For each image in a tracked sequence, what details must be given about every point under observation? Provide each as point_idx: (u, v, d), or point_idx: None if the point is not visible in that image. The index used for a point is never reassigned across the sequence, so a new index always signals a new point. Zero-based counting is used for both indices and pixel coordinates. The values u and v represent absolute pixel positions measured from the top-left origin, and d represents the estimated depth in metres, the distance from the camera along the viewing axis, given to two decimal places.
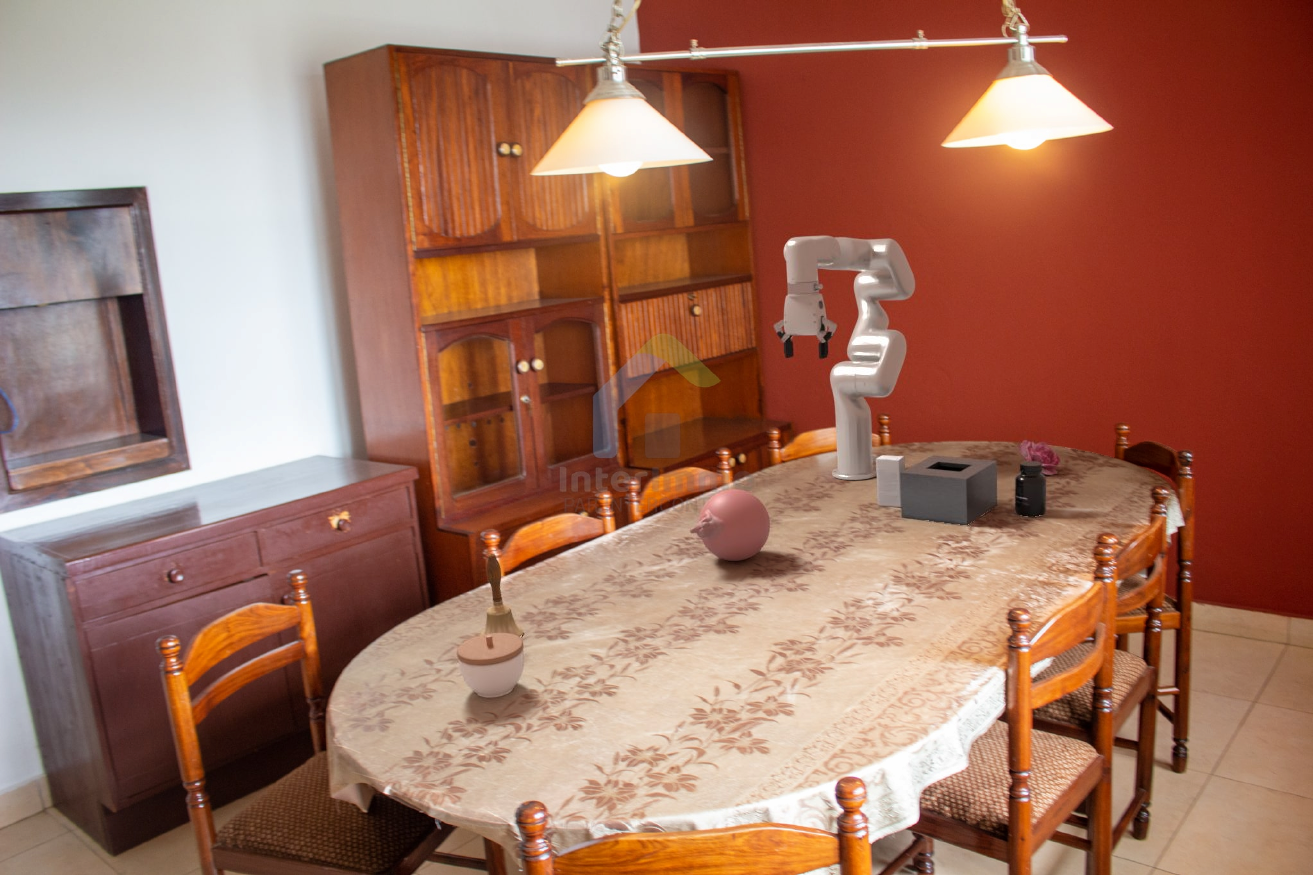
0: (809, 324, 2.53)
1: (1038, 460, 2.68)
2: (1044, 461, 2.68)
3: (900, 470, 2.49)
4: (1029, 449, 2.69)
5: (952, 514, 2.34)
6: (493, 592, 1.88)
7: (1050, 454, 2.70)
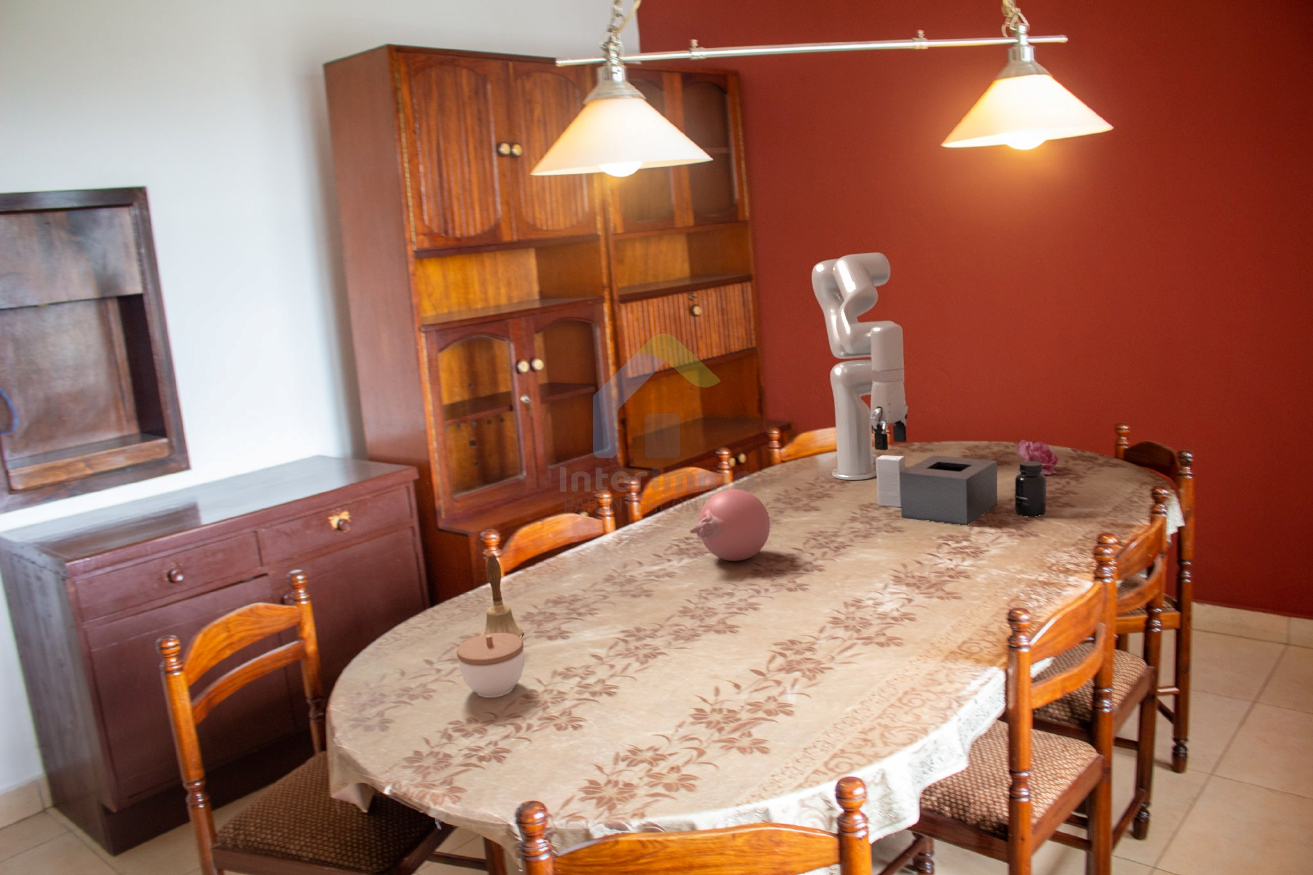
0: (902, 409, 2.49)
1: (1036, 460, 2.68)
2: (1042, 461, 2.68)
3: (900, 470, 2.49)
4: (1027, 449, 2.69)
5: (952, 514, 2.34)
6: (493, 592, 1.88)
7: (1048, 454, 2.71)
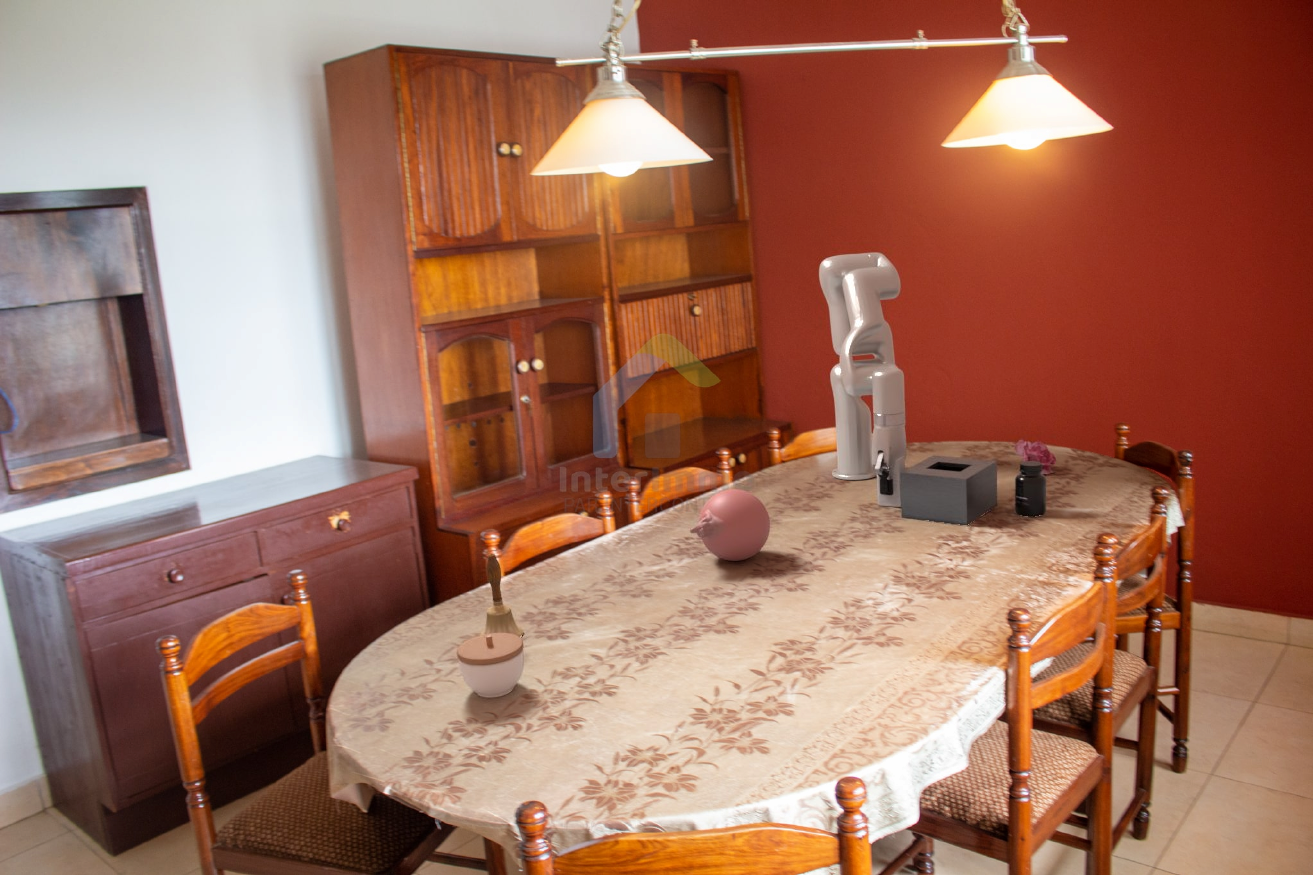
0: (903, 451, 2.51)
1: (1034, 459, 2.69)
2: (1040, 460, 2.69)
3: (900, 470, 2.49)
4: (1025, 448, 2.69)
5: (952, 514, 2.34)
6: (493, 592, 1.88)
7: (1046, 453, 2.71)
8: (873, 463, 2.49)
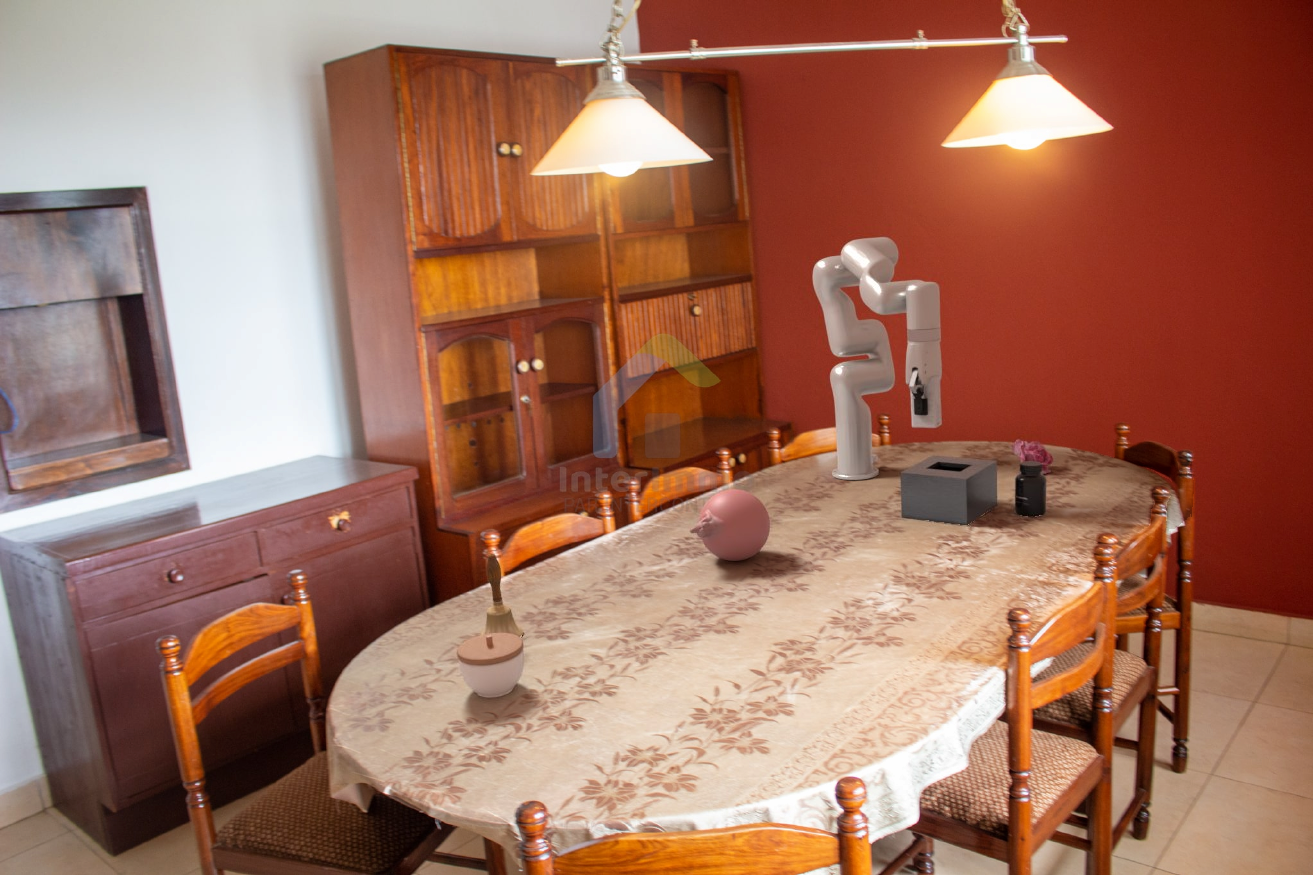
0: (939, 370, 2.41)
1: (1031, 459, 2.70)
2: (1037, 460, 2.69)
3: (935, 389, 2.39)
4: (1022, 448, 2.70)
5: (952, 514, 2.34)
6: (493, 592, 1.88)
7: (1043, 453, 2.72)
8: (907, 381, 2.38)
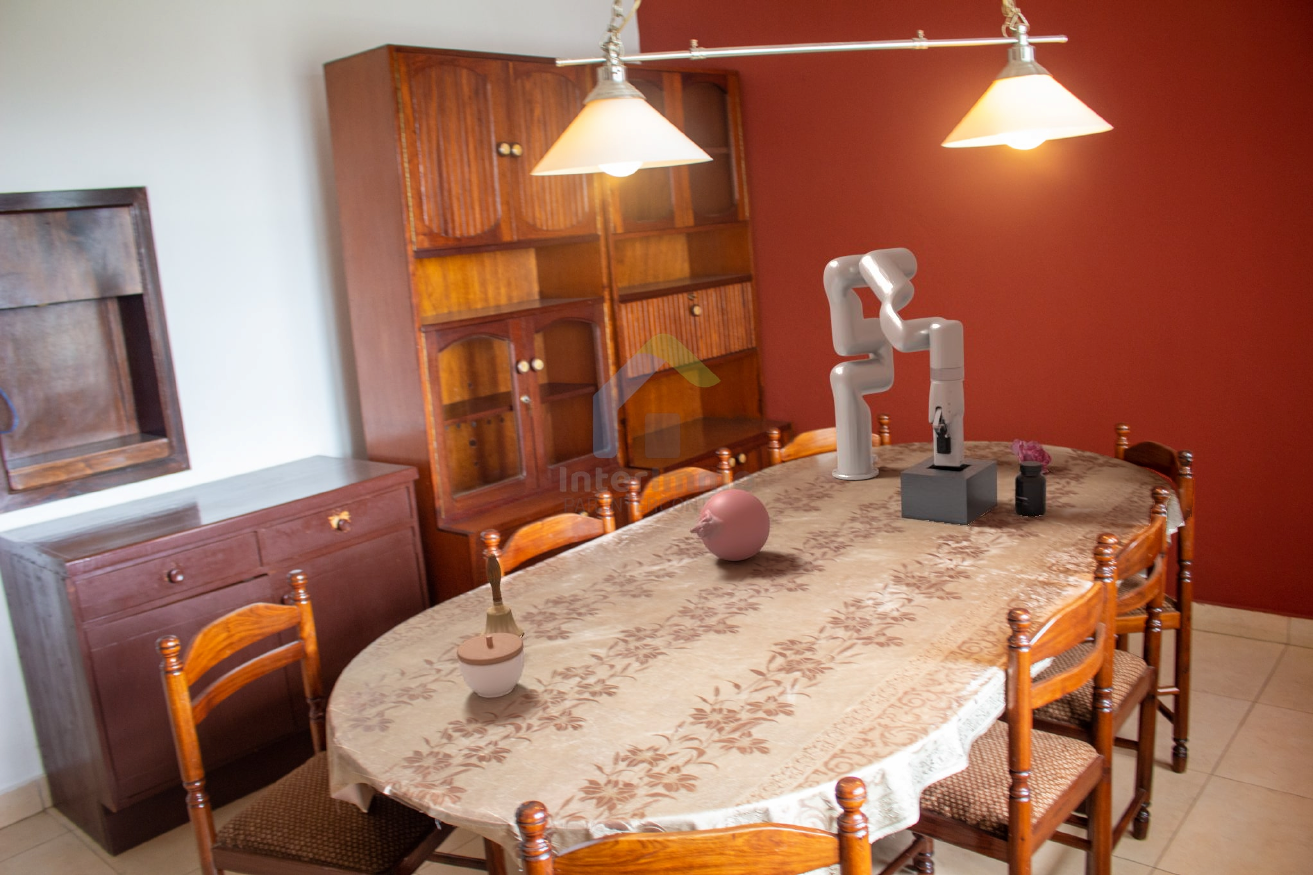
0: (961, 408, 2.40)
1: (1030, 459, 2.70)
2: (1036, 460, 2.70)
3: (959, 427, 2.37)
4: (1021, 448, 2.71)
5: (952, 514, 2.34)
6: (493, 592, 1.88)
7: (1041, 453, 2.73)
8: (930, 420, 2.37)
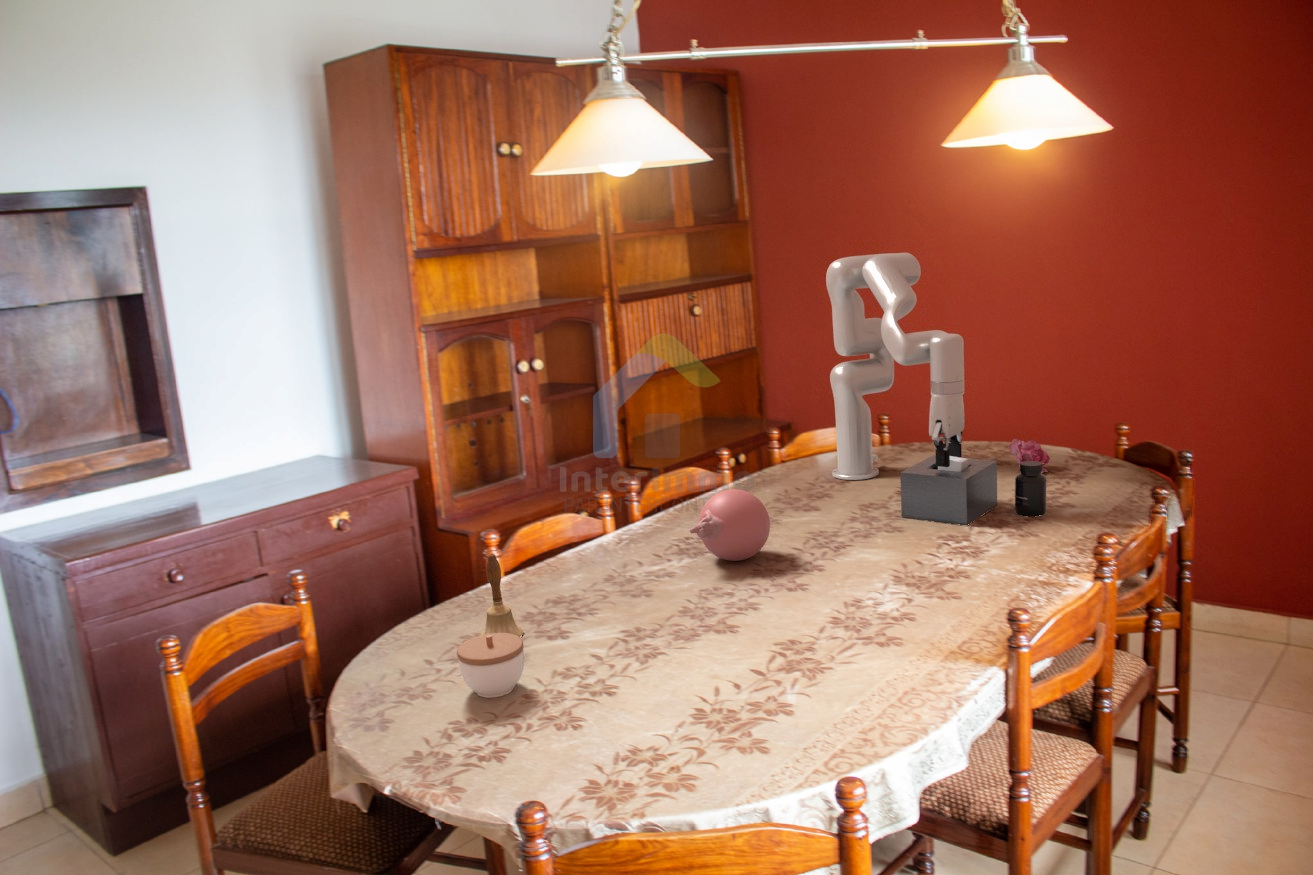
0: (961, 421, 2.40)
1: (1028, 458, 2.70)
2: (1034, 459, 2.70)
3: None
4: (1019, 448, 2.71)
5: (952, 514, 2.34)
6: (493, 592, 1.88)
7: (1040, 452, 2.73)
8: (930, 433, 2.38)
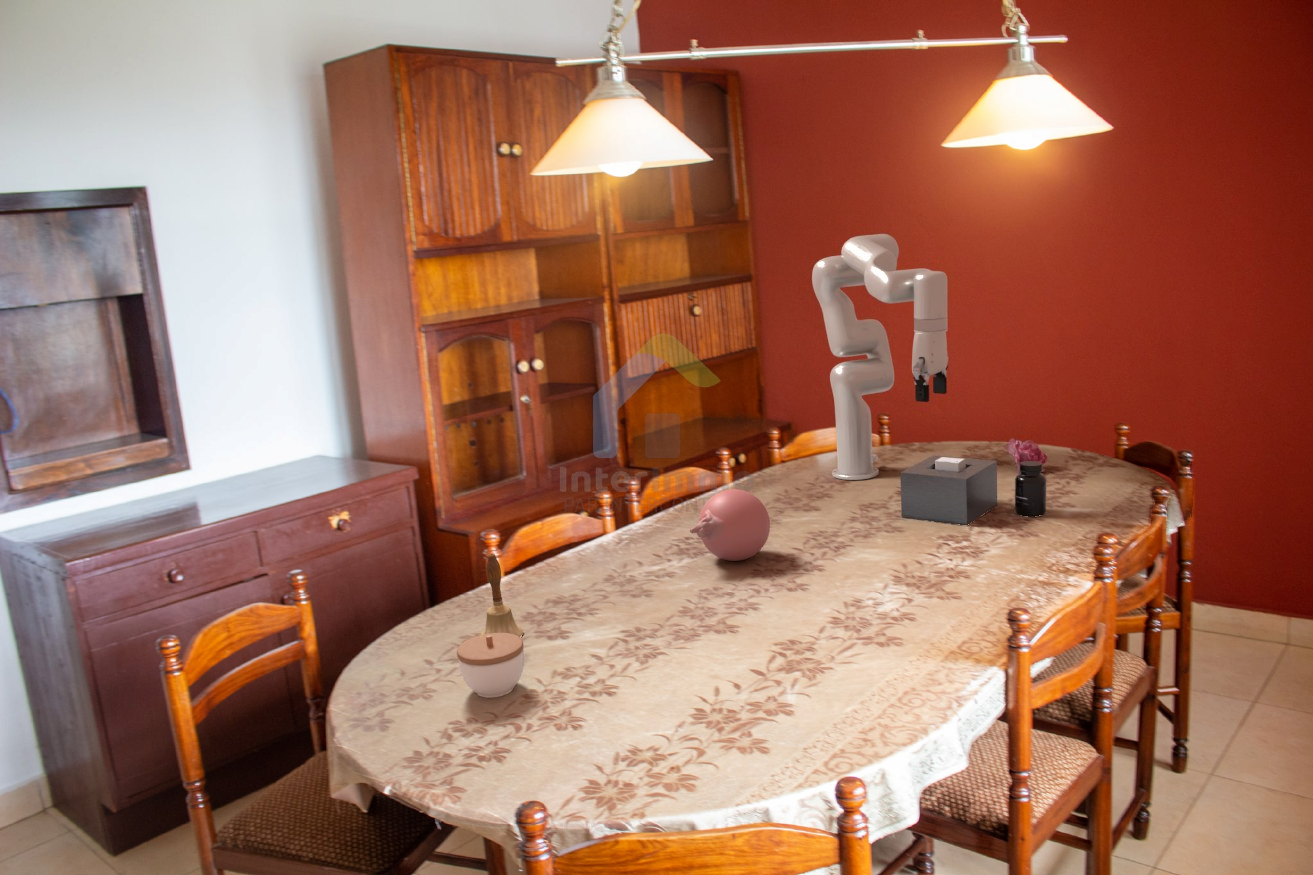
0: (944, 359, 2.41)
1: (1026, 458, 2.71)
2: (1032, 459, 2.71)
3: None
4: (1017, 447, 2.71)
5: (952, 514, 2.34)
6: (493, 592, 1.88)
7: (1037, 452, 2.74)
8: None
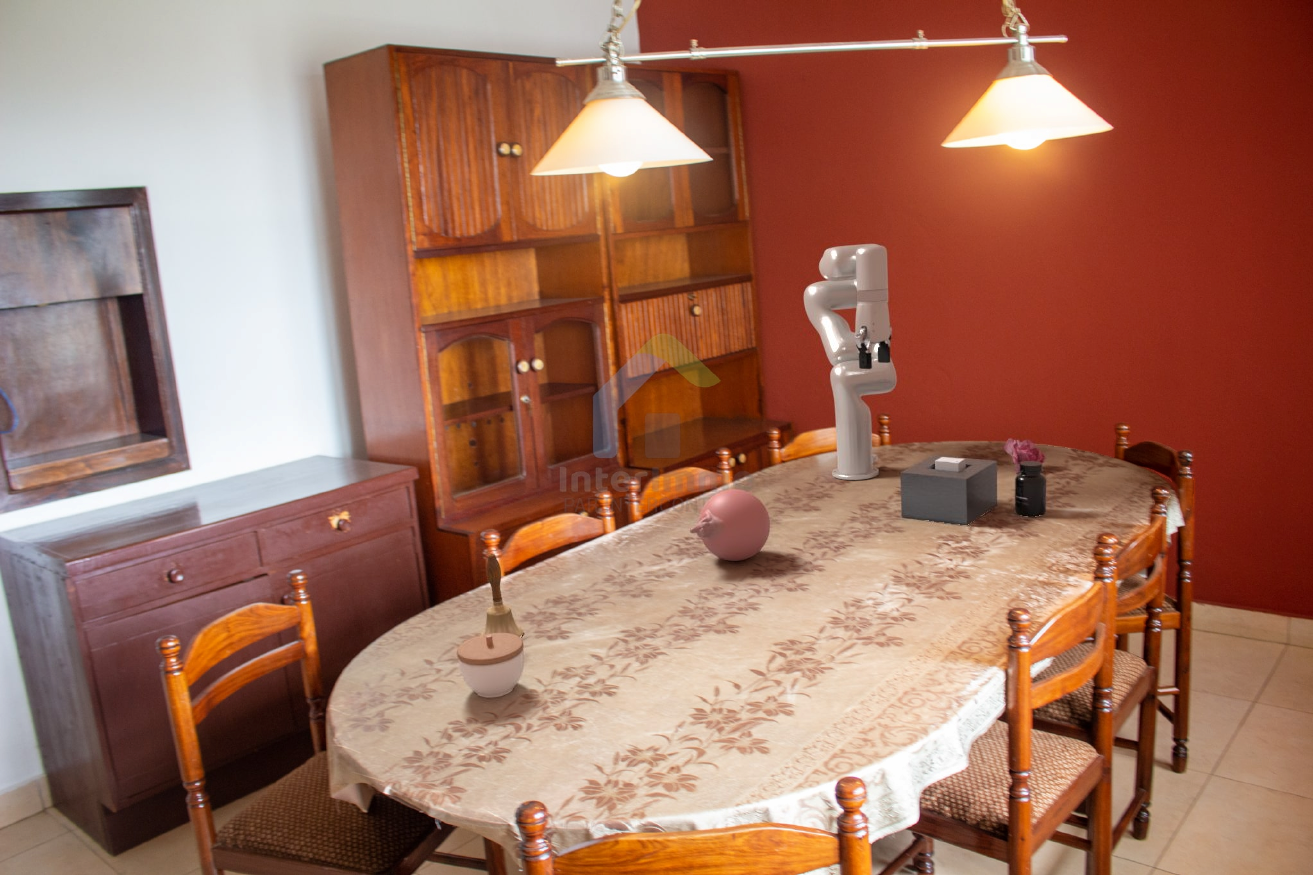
0: (887, 329, 2.55)
1: (1024, 458, 2.71)
2: (1030, 459, 2.71)
3: None
4: (1015, 447, 2.72)
5: (952, 514, 2.34)
6: (493, 592, 1.88)
7: (1035, 452, 2.74)
8: None
